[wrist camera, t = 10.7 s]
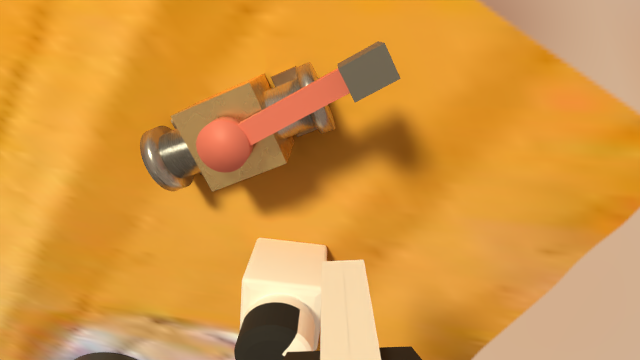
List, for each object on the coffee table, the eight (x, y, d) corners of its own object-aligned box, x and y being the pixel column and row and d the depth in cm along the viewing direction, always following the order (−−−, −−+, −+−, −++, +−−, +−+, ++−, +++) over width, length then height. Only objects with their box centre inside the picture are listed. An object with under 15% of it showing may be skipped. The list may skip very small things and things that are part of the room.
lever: (221, 172, 31) (205, 193, 27) (194, 131, 30) (173, 146, 26) (395, 81, 28) (405, 89, 24) (372, 30, 27) (378, 30, 23)
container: (254, 293, 44) (223, 392, 32) (257, 235, 41) (225, 321, 29) (319, 300, 44) (314, 402, 32) (327, 244, 41) (325, 332, 29)
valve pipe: (193, 181, 39) (167, 208, 33) (158, 119, 36) (123, 136, 30) (337, 125, 36) (337, 144, 30) (309, 54, 34) (303, 59, 28)
